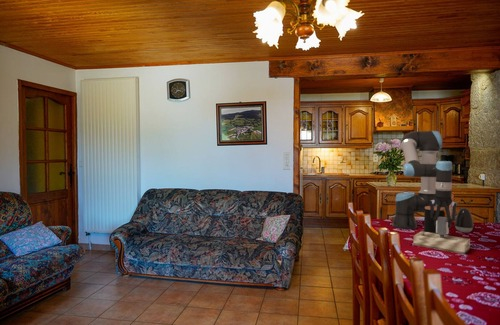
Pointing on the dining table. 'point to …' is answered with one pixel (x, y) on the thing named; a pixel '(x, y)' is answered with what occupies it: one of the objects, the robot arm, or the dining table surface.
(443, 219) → the metal peg
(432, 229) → the coffee jar
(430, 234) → the keyhole plate
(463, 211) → the dark grey egg shape
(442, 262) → the dining table surface
